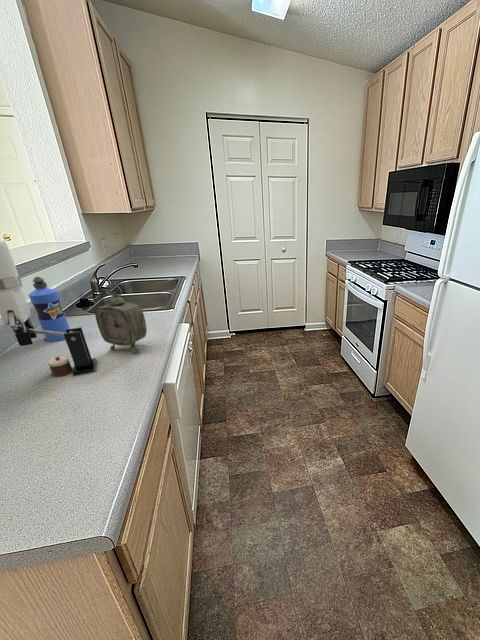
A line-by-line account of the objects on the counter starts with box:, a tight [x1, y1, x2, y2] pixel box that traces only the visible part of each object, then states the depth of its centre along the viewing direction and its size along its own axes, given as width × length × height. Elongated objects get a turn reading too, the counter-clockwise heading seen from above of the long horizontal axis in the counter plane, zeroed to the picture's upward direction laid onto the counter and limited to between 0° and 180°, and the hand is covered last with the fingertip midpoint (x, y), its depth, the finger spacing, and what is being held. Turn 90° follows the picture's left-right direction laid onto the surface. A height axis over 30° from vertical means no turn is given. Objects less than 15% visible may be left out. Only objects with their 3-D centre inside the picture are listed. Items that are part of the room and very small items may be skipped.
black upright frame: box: [64, 326, 97, 376], centre depth 111 cm, size 6×9×14 cm, turn 25°
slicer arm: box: [25, 325, 77, 336], centre depth 105 cm, size 15×5×2 cm, turn 115°
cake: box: [47, 355, 73, 377], centre depth 110 cm, size 6×6×6 cm
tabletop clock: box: [94, 283, 148, 354], centre depth 122 cm, size 14×9×25 cm, turn 74°
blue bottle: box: [28, 276, 71, 342], centre depth 134 cm, size 9×9×25 cm
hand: (28, 340), depth 104 cm, fingers open, 5 cm apart
